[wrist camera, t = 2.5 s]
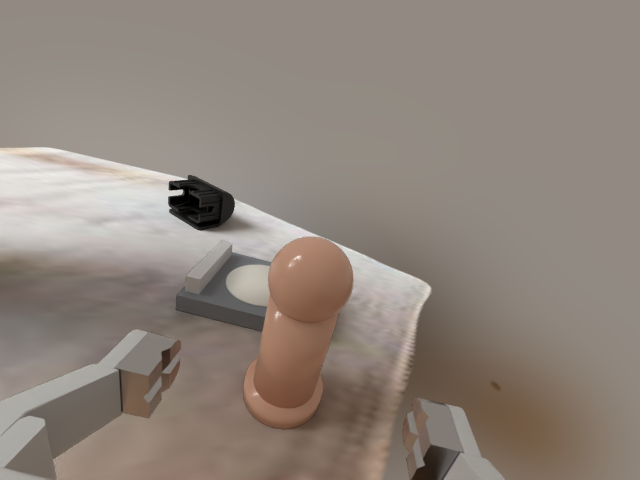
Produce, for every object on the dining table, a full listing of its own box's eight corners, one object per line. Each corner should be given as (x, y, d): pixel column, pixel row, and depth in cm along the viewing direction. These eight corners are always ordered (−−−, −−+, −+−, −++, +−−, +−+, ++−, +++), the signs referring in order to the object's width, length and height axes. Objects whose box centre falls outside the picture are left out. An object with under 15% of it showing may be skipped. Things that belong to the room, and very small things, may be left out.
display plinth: (175, 309, 34) (177, 279, 33) (218, 261, 45) (221, 237, 44) (314, 344, 34) (323, 316, 33) (323, 287, 45) (330, 264, 44)
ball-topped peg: (251, 438, 24) (288, 267, 17) (237, 366, 29) (261, 218, 23) (331, 418, 27) (387, 267, 20) (304, 356, 32) (342, 223, 26)
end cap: (232, 224, 58) (237, 190, 55) (200, 232, 52) (203, 194, 50) (199, 206, 62) (202, 173, 60) (166, 211, 57) (167, 175, 54)
